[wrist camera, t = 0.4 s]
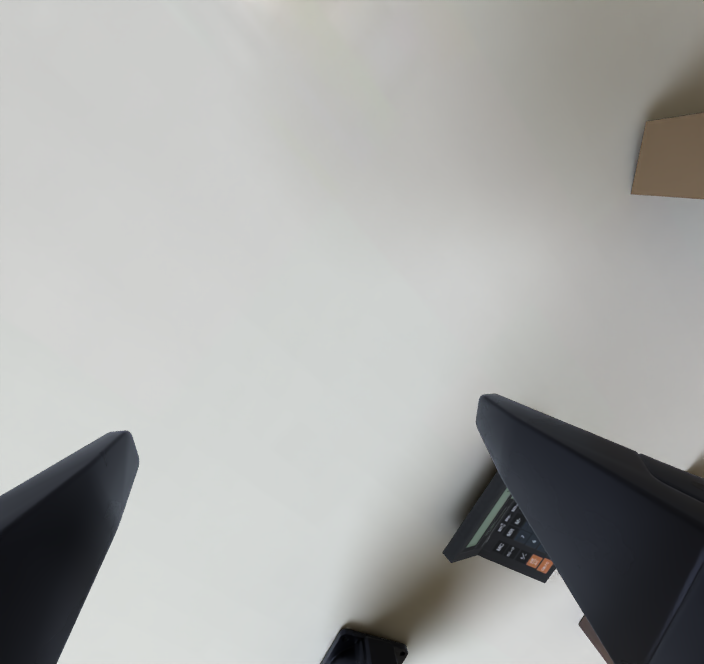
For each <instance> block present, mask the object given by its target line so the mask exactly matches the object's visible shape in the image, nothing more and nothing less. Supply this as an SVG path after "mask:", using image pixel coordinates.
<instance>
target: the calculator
mask: <svg viewBox="0 0 704 664" xmlns="http://www.w3.org/2000/svg"><path fill="white" fill-rule="evenodd" d="M442 553H443V554H444V555H445V556H446V558H447V559H448V560H449V561H450V562H451V563H453V562H456V561H460V560H463V559H466V558H470V557H473V556H476V555H478V556H481V557H483V558H486V559H488V560H490V561H493V562H495V563H498V564H500V565H502V566H505V567H507V568H510V569H512V570H514V571H517V572H519V573H522V574H524V575H526V576H529V577H531V578H534V579H536V580H538V581H541V582H543V583H546V581H547V580H548V578H549V577H550V576H551V574H552V573H553V572H554V570H555V569H556V567H555V566H554V564H553V562H552V561H551V559H550V557H549V556H548V554H547V552H546V551H545V549H544V547H543V546H542V544H541V543H540V541H539V539H538V538H537V536H536V534H535V533H534V531H533V529H532V528H531V526H530V524H529V523H528V521H527V520H526V518H525V516H524V515H523V513H522V511H521V510H520V508H519V506H518V505H517V503H516V502H515V500H514V498H513V497H512V495H511V493H510V492H509V490H508V488H507V487H506V485H505V483H504V482H503V480H502V478H501V476H500V474H499V472H498V471H497V473H496V474H495V476H494V477H493V478H492V480H491V481H490V483H489V484H488V486H487V487H486V489H485V490H484V492H483V493H482V495H481V496H480V498H479V499H478V501H477V502H476V504H475V505H474V507H473V508H472V510H471V511H470V512H469V514H468V515H467V517H466V518H465V520H464V521H463V523H462V524H461V526H460V527H459V529H458V530H457V532H456V533H455V535H454V536H453V538H452V539H451V541H450V542H449V544H448V545H447V547H446V548H445V549H444V551H443V552H442Z"/></svg>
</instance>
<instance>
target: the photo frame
mask: <svg viewBox="0 0 704 664" xmlns="http://www.w3.org/2000/svg"><path fill="white" fill-rule="evenodd" d="M631 194H636V195H651V196H665V197H680V198H694V199H704V112H701V113H695V114H689V115H683V116H677V117H670V118H664V119H658V120H652V121H646V125H645V130H644V134H643V139H642V144H641V148H640V153H639V158H638V163H637V167H636V172H635V177H634V182H633V186H632V191H631Z"/></svg>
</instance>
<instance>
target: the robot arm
mask: <svg viewBox="0 0 704 664" xmlns="http://www.w3.org/2000/svg"><path fill="white" fill-rule="evenodd" d="M476 425H477V428H478V431H479V433H480V435H481V437H482V439H483V441H484V443H485V445H486V448H487V450H488V452H489V454H490V456H491V458H492V460H493V462H494V464H495V466H496V468H497V470H498V472H499V474H500V476H501V478H502V480H503V482H504V483H505V485H506V487H507V488H508V490H509V492H510V493H511V495H512V497H513V498H514V500H515V502H516V503H517V505H518V506H519V508H520V510H521V511H522V513H523V515H524V516H525V518H526V520H527V521H528V523H529V524H530V526H531V528H532V529H533V531H534V533H535V534H536V536H537V538H538V539H539V541H540V543H541V544H542V546H543V547H544V549H545V551H546V552H547V554H548V556H549V557H550V559H551V561H552V562H553V564H554V566H555V567H556V569H557V570H558V572H559V574H560V575H561V577H562V579H563V580H564V582H565V584H566V585H567V587H568V589H569V590H570V592H571V593H572V595H573V597H574V598H575V600H576V602H577V603H578V605H579V607H580V608H581V610H582V611H583V613H584V615H585V616H586V618H587V620H588V621H589V623H590V625H591V626H592V628H593V630H594V631H595V633H596V634H597V636H598V638H599V639H600V641H601V643H602V644H603V646H604V648H605V649H606V651H607V653H608V654H609V656H610V657H611V659H612V661H613V662H614V664H704V478H701V477H698V476H696V475H693V474H690V473H688V472H685V471H683V470H680V469H678V468H675V467H673V466H670V465H668V464H665V463H663V462H660V461H658V460H655V459H653V458H651V457H648V456H646V455H643V454H638V453H637V452H636V451H634V450H631V449H629V448H626V447H624V446H621V445H619V444H617V443H614V442H612V441H609V440H607V439H604V438H602V437H600V436H597V435H595V434H592V433H590V432H588V431H585V430H583V429H580V428H578V427H575V426H573V425H571V424H568V423H566V422H563V421H561V420H558V419H556V418H554V417H551V416H549V415H546V414H544V413H542V412H539V411H537V410H534V409H532V408H529V407H527V406H525V405H522V404H520V403H517V402H515V401H512V400H510V399H508V398H505V397H503V396H500V395H498V394H485V395H482V396H480V398H479V402H478V409H477V416H476ZM138 467H139V456H138V453H137V450H136V446H135V443H134V440H133V437H132V435H131V433H130V432H129V431H116V432H109V433H107V434H105V435H104V436H102V437H100V438H99V439H97V440H95V441H93V442H92V443H90V444H88V445H87V446H85V447H83V448H81V449H80V450H78V451H76V452H75V453H73V454H71V455H70V456H68V457H66V458H64V459H63V460H61V461H59V462H58V463H56V464H54V465H52V466H51V467H49V468H47V469H46V470H44V471H42V472H41V473H39V474H37V475H35V476H34V477H32V478H30V479H29V480H27V481H25V482H24V483H22V484H20V485H18V486H17V487H15V488H13V489H12V490H10V491H8V492H6V493H5V494H3V495H1V496H0V664H57V661H58V659H59V657H60V655H61V653H62V650H63V648H64V646H65V644H66V642H67V639H68V637H69V635H70V633H71V631H72V628H73V626H74V624H75V622H76V620H77V617H78V615H79V613H80V611H81V609H82V606H83V604H84V602H85V600H86V598H87V595H88V593H89V591H90V589H91V587H92V584H93V582H94V580H95V578H96V576H97V573H98V571H99V569H100V567H101V565H102V562H103V560H104V558H105V556H106V554H107V551H108V549H109V547H110V545H111V543H112V540H113V538H114V536H115V533H116V531H117V529H118V526H119V523H120V521H121V518H122V515H123V512H124V509H125V506H126V503H127V500H128V497H129V494H130V491H131V488H132V485H133V482H134V479H135V476H136V473H137V470H138ZM407 655H408V650H407V646H406V645H405V644H401V643H398V642H394V641H390V640H386V639H383V638H379V637H375V636H371V635H368V634H364V633H360V632H356V631H353V630H349V629H343V630H341V631H340V632H339V634H338V635H337V637H336V639H335V641H334V642H333V644H332V646H331V647H330V649H329V651H328V653H327V654H326V656H325V658H324V659H323V661H322V663H321V664H402V663H403V661H404V660H405V658H406V656H407Z"/></svg>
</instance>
